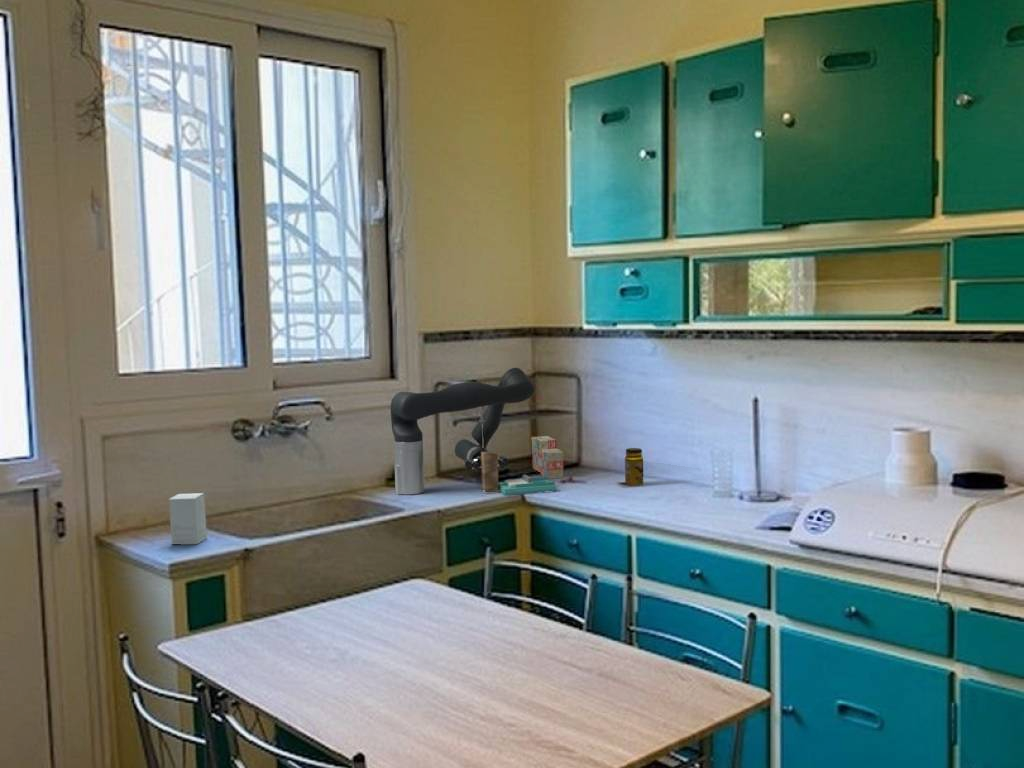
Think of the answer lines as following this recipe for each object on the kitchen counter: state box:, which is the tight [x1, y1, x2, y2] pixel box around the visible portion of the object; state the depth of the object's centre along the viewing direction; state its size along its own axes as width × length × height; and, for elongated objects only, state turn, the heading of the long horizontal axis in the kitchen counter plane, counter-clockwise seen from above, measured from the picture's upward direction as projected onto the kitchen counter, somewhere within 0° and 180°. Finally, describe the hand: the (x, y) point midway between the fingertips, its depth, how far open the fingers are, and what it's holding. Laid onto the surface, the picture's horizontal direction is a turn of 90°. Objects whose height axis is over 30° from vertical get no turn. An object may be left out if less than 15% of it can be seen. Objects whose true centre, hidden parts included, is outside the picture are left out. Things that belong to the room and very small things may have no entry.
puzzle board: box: [498, 476, 557, 496], centre depth 331 cm, size 17×12×3 cm
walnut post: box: [481, 450, 500, 493], centre depth 330 cm, size 4×4×13 cm
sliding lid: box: [504, 474, 533, 487], centre depth 331 cm, size 8×8×2 cm
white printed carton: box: [531, 435, 565, 479], centre depth 361 cm, size 21×6×12 cm, turn 13°
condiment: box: [616, 447, 647, 488], centre depth 336 cm, size 7×8×12 cm
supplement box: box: [168, 492, 208, 545], centre depth 272 cm, size 7×7×13 cm
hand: (490, 465), depth 331 cm, fingers open, 8 cm apart
